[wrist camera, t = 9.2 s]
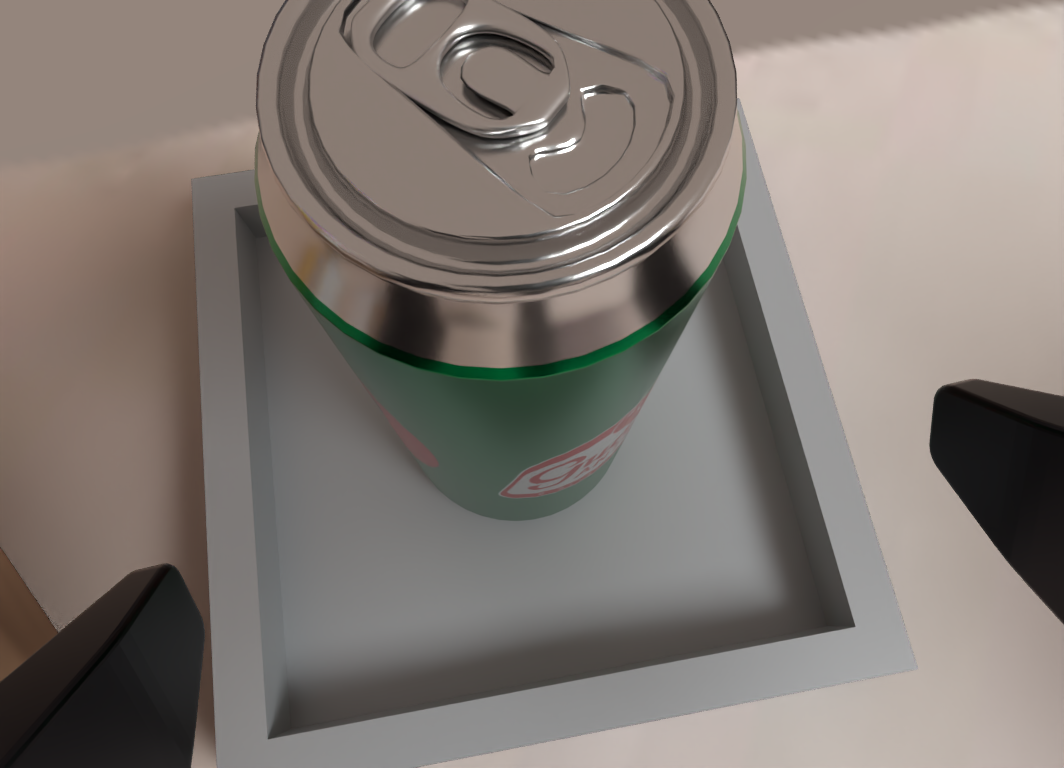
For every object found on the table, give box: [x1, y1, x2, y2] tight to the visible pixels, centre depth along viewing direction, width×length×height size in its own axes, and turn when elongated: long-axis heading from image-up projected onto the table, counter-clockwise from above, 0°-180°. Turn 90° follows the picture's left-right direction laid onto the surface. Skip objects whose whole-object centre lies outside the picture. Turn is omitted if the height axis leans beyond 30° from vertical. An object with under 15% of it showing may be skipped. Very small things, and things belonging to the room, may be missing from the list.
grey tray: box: [191, 98, 918, 768], centre depth 18 cm, size 14×14×2 cm
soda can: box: [254, 0, 747, 521], centre depth 12 cm, size 5×5×12 cm
